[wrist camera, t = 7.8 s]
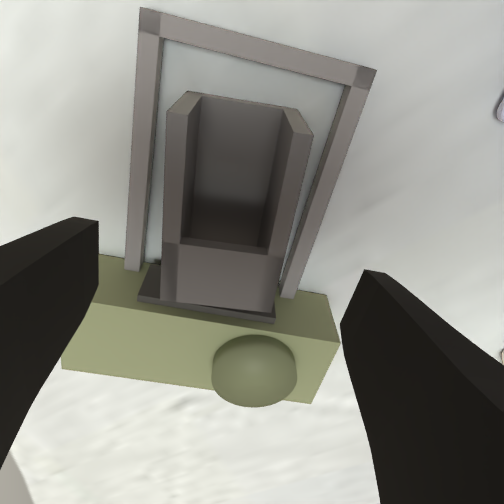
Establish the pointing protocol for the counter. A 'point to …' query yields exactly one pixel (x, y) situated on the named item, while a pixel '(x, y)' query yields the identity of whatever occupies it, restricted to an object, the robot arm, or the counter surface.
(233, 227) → the chute
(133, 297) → the grey frame stand
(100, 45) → the counter surface
